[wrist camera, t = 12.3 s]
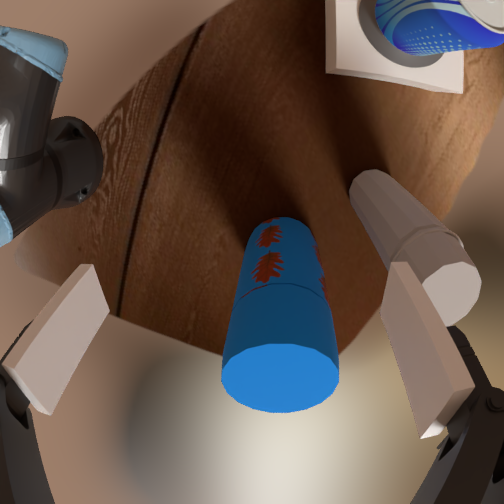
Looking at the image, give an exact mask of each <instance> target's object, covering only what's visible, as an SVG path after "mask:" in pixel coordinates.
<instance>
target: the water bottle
mask: <svg viewBox="0 0 504 504" xmlns="http://www.w3.org/2000/svg"><path fill="white" fill-rule="evenodd" d="M349 195H350V203H351V205H352V206H353V208H354V210H355V212H356V213H357V215H358V217H359V219H360V220H361V222H362V224H363V226H364V227H365V229H366V231H367V233H368V234H369V236H370V238H371V240H372V242H373V244H374V245H375V247H376V249H377V251H378V253H379V255H380V257H381V259H382V261H383V263H384V264H385V266H386V268H387V270H388V272H389V269H390V264H391V262H408V264H409V265H410V267H411V269H412V270H413V272H414V273H415V275H416V277H417V278H418V280H419V281H420V283H421V285H422V286H423V288H424V290H425V291H426V293H427V295H428V296H429V298H430V300H431V301H432V303H433V305H434V307H435V308H436V310H437V312H438V314H439V315H440V317H441V319H442V321H443V323H444V324H445V326H446V327H448V326H451V325H453V324H454V323H456V322H457V321H458V320H460V319H461V318H463V317H464V316H465V315H467V314H468V312H469V311H470V309H471V308H472V306H473V305H474V304H475V302H476V301H477V299H478V296H479V292H480V287H481V279H480V276H479V274H478V271H477V268H476V267H475V265H474V264H473V262H472V261H471V259H470V258H469V256H468V255H467V253H466V252H465V250H464V249H463V243H462V242H461V240H460V238H459V237H458V235H456V234H455V233H453V232H452V231H450V230H448V229H447V228H446V227H445V226H444V225H443V224H442V223H441V222H440V221H439V220H438V219H437V218H436V217H435V216H434V215H433V214H432V213H431V212H430V211H429V210H428V209H427V208H426V207H424V206H423V205H422V204H421V203H420V202H419V201H418V200H417V199H416V198H415V197H414V196H412V195H411V194H410V193H409V192H408V191H407V190H406V189H404V188H403V187H402V186H401V185H400V184H399V183H398V182H396V181H395V180H394V179H393V178H392V177H390V176H389V175H388V174H386V173H384V172H382V171H380V170H377V169H374V170H367V171H363V172H362V173H361V174H359V175H358V176H357V177H356V178H354V180H353V182H352V185H351V187H350V189H349Z"/></svg>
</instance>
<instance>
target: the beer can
mask: <svg viewBox="0 0 504 504" xmlns="http://www.w3.org/2000/svg"><path fill="white" fill-rule="evenodd" d="M375 17H376V21H377V24H378V27H379V29H380V31H381V32H382V34H383V35H384V36H385V38H386V39H387V40H388V41H389V42H390V43H391V44H392V45H393V46H395V47H396V48H398V49H399V50H401V51H403V52H405V53H407V54H410V55H415V56H427V55H433V54H439V53H445V52H452V51H460V50H469V49H478V48H489V47H495V46H498V45H500V44H502V43H503V42H504V0H377V2H376V6H375Z"/></svg>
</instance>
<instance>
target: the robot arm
mask: <svg viewBox="0 0 504 504" xmlns="http://www.w3.org/2000/svg"><path fill="white" fill-rule="evenodd" d="M67 56H68V48H67V45H66V44H65V43H64V42H63V41H62V40H59V39H57V38H53V37H50V36H46V35H43V34H39V33H35V32H30V31H26V30H22V29H16V28H10V27H5V26H0V247H1V246H3V245H4V244H7V243H9V242H11V240H12V239H14V238H15V237H16V236H17V235H19V234H20V233H21V232H22V231H24V230H25V229H26V228H28V227H29V226H30V225H32V224H33V223H34V222H36V221H37V220H38V219H40V218H41V217H42V216H44V215H45V214H46V213H48V212H49V211H51V210H54V209H61V208H69V207H73V206H76V205H78V204H80V203H82V202H83V201H85V200H86V199H88V198H89V197H90V196H91V195H92V194H93V193H94V192H95V190H96V189H97V187H98V185H99V183H100V180H101V177H102V172H103V155H102V150H101V146H100V143H99V141H98V138H97V136H96V135H95V133H94V132H93V130H92V129H91V128H90V127H89V126H88V125H87V124H86V123H85V122H84V121H82V120H80V119H78V118H76V117H71V116H64V117H59V118H55V119H52V120H51V116H52V112H53V108H54V104H55V100H56V97H57V93H58V90H59V86H60V83H61V82H62V80H63V78H62V74H63V70H64V67H65V63H66V60H67ZM108 313H109V308H108V305H107V303H106V300H105V297H104V295H103V292H102V289H101V286H100V283H99V281H98V278H97V275H96V272H95V269H94V266H93V264H80V265H79V267H78V268H77V269H76V270H75V271H74V272H73V273H72V274H71V276H70V277H69V278H68V279H67V280H66V281H65V283H64V284H63V285H62V286H61V287H60V288H59V290H58V291H57V292H56V293H55V294H54V296H53V297H52V298H51V299H50V300H49V302H48V303H47V304H46V305H45V307H44V308H43V309H42V310H41V312H40V313H39V314H38V315H37V317H36V318H35V319H34V320H33V321H32V322H30V323H29V324H28V325H27V326H25V327H24V329H23V330H22V331H21V333H20V334H19V337H17V338H16V339H15V341H14V343H13V344H12V345H11V346H10V348H9V349H8V350H7V352H6V353H5V355H4V356H3V357H2V359H1V360H0V504H55V502H54V499H53V496H52V494H51V491H50V488H49V484H48V481H47V478H46V474H45V471H44V467H43V464H42V460H41V456H40V452H39V448H38V443H37V439H36V435H35V429H34V424H33V419H32V413H31V411H30V409H29V408H28V405H29V404H30V402H31V403H32V405H33V406H34V407H35V408H36V409H37V410H38V411H39V412H42V413H45V414H47V415H50V416H51V415H52V413H53V411H54V409H55V407H56V405H57V403H58V401H59V399H60V397H61V395H62V393H63V391H64V389H65V387H66V385H67V384H68V382H69V380H70V378H71V376H72V374H73V373H74V371H75V369H76V367H77V365H78V363H79V362H80V360H81V358H82V356H83V355H84V353H85V351H86V349H87V348H88V346H89V344H90V342H91V341H92V339H93V337H94V335H95V334H96V332H97V331H98V328H99V327H100V326H101V324H102V322H103V320H104V319H105V317H106V316H107V314H108ZM380 316H381V318H382V321H383V323H384V326H385V329H386V332H387V334H388V337H389V340H390V343H391V346H392V348H393V351H394V354H395V357H396V360H397V363H398V366H399V369H400V372H401V376H402V379H403V382H404V385H405V388H406V391H407V395H408V398H409V401H410V405H411V408H412V412H413V415H414V419H415V423H416V426H417V430H418V434H419V438H420V439H422V438H426V437H430V436H435V435H439V434H440V433H441V431H442V430H443V429H444V428H445V426H447V429H448V433H449V434H448V435H447V436H446V438H445V439H444V440H443V441H442V442H441V443H440V444H439V445H438V447H437V449H440V448H441V449H440V451H439V453H438V455H437V457H436V459H435V461H434V463H433V465H432V467H431V468H430V470H429V472H428V474H427V476H426V478H425V480H424V481H423V483H422V485H421V486H420V488H419V490H418V491H417V493H416V495H415V496H414V498H413V500H412V501H411V503H410V504H504V391H502V390H501V389H499V388H495V387H492V386H491V384H490V382H489V380H488V378H487V376H486V374H485V372H484V370H483V368H482V366H481V364H480V362H479V360H478V358H477V356H476V355H475V352H474V351H473V349H472V347H470V343H469V341H468V340H467V338H466V336H465V335H464V333H463V332H461V331H460V330H459V329H458V328H457V327H456V326H448V327H446V326H445V324H444V323H443V321H442V319H441V317H440V315H439V314H438V312H437V310H436V308H435V307H434V305H433V303H432V301H431V300H430V298H429V296H428V295H427V293H426V291H425V290H424V288H423V286H422V285H421V283H420V281H419V280H418V278H417V277H416V275H415V273H414V272H413V270H412V269H411V267H410V265H409V264H408V262H391V264H390V269H389V274H388V279H387V284H386V288H385V293H384V297H383V301H382V305H381V309H380Z"/></svg>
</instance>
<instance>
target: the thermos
mask: <svg viewBox="0 0 504 504" xmlns="http://www.w3.org/2000/svg"><path fill="white" fill-rule="evenodd" d="M221 382H222V384H223V385H224V388H225V389H226V392H227V393H228V394H229V395H230V396H231V397H233V398H234V399H235V400H236V401H237V402H239V403H241V404H243V405H245V406H248V407H250V408H252V409H256V410H260V411H265V412H271V413H289V412H295V411H300V410H305V409H308V408H310V407H313V406H315V405H317V404H320V403H322V402H323V401H324V400H325V399H326V398H328V397H329V396H330V395H331V394H332V393H333V392H334V390H335V388H336V386H337V384H338V382H339V358H338V349H337V343H336V337H335V331H334V326H333V320H332V314H331V309H330V304H329V298H328V293H327V288H326V283H325V278H324V273H323V268H322V263H321V258H320V254H319V249H318V246H317V243H316V240H315V238H314V236H313V234H312V233H311V231H310V229H309V228H308V227H307V226H305V225H304V224H303V223H302V222H300V221H298V220H295V219H292V218H289V217H275V218H272V219H269V220H266V221H264V222H262V223H261V224H260V225H259V226H257V227H256V228H255V229H254V231H253V233H252V234H251V236H250V238H249V240H248V243H247V246H246V249H245V253H244V258H243V263H242V267H241V272H240V276H239V281H238V286H237V291H236V295H235V300H234V305H233V309H232V314H231V319H230V323H229V328H228V333H227V338H226V342H225V347H224V352H223V360H222V378H221Z"/></svg>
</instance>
